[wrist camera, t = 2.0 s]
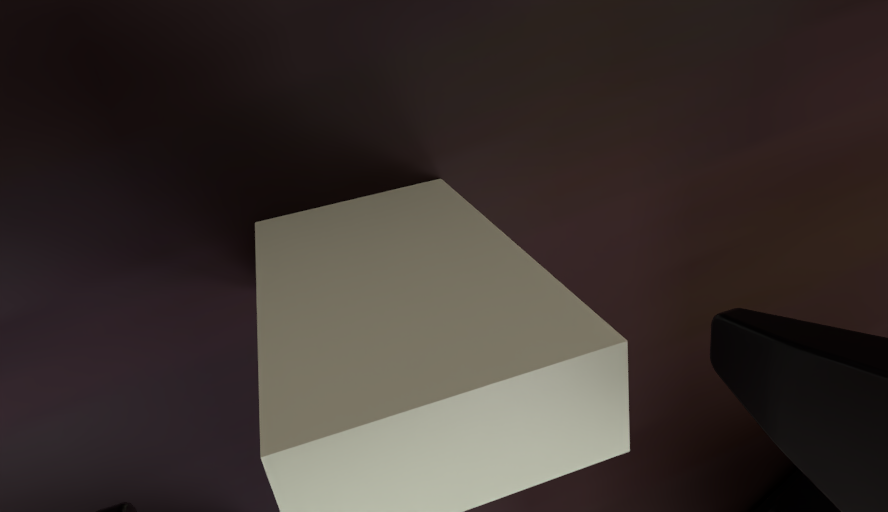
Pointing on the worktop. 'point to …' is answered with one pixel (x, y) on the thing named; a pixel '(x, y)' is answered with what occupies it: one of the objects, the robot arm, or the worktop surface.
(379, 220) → the domino
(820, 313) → the worktop surface
